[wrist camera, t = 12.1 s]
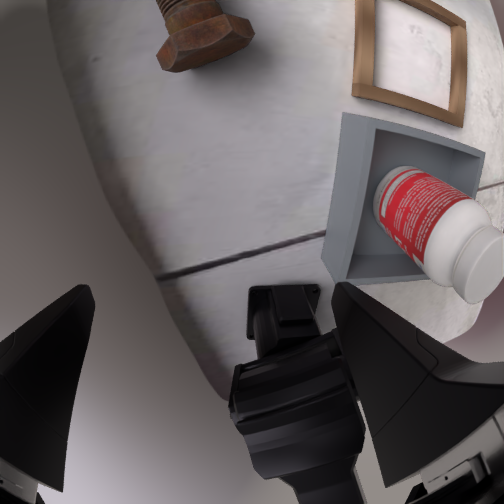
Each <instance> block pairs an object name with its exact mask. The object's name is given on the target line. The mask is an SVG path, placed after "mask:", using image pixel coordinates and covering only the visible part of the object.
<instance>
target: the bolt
mask: <svg viewBox="0 0 504 504" xmlns="http://www.w3.org/2000/svg"><path fill="white" fill-rule="evenodd" d="M156 2H157V4H158V6H159V9H160V10H161V13H162V16H163V17H164V20H165V22H166V23H165V26H166V28H167V30H168V33H169V35H170V36H169V37H168V39H167V40H166V42H165V43H164V44H163V46H162V47H161V49H160V50H159V52H158V53H157V55H156V57H157V59H158V61H159V63H160V66H161V68H162V70H165V71H169V72H174V73H177V72H182V71H186V70H189V69H193V68H196V67H199V66H202V65H205V64H207V63H210V62H213V61H216V60H218V59H220V58H223V57H225V56H227V55H230V54H232V53H234V52H236V51H238V50H240V49H242V48H244V47H246V46H247V45H248V44H249V42H250V41H251V40H252V38H253V37H254V35H255V33H254V30H253V28H252V26H251V24H250V22H249V20H248V19H244V18H240V17H236V16H232V15H227V14H223V12H222V10H221V8H220V6H219V4H218V3H216V1H215V0H156Z"/></svg>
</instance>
